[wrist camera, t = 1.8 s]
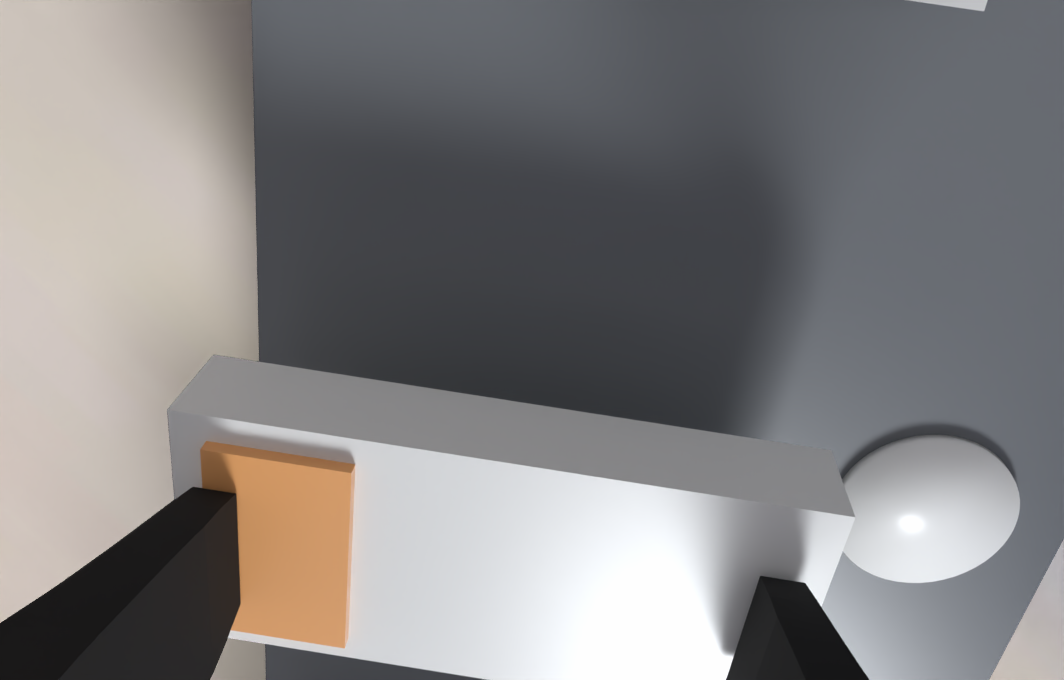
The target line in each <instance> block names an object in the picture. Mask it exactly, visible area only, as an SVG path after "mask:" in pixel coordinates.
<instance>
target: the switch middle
mask: <svg viewBox="0 0 1064 680" xmlns="http://www.w3.org/2000/svg"><path fill="white" fill-rule="evenodd" d="M167 414H168V427H169V439H170V452H171V464H172V476H173V489H174V500H175V499H176V498H178V497H179V496H180V495H182V494H183V493H184V492H186V491H187V490H189V489H190V488H192V487H198V488H204V489H211V490H217V491H224V492H230V493H236V497H237V523H238V549H239V575H240V600H241V604H240V607H239V610H238V612H237V615H236V617H235V620H234V623H233V625H232V628H231V630H230V633H229V636H228V638H232V639H238V640H244V641H250V642H257V643H263V644H269V645H275V646H281V647H288V648H294V649H300V650H306V651H312V652H319V653H325V654H331V655H337V656H344V657H350V658H356V659H362V660H368V661H375V662H381V663H387V664H393V665H399V666H406V667H412V668H418V669H424V670H431V671H437V672H443V673H449V674H455V675H462V676H468V677H474V678H480V679H486V680H726V678H727V675H728V672H729V669H730V666H731V663H732V660H733V657H734V654H735V651H736V648H737V645H738V642H739V639H740V636H741V633H742V630H743V626H744V623H745V620H746V617H747V614H748V611H749V608H750V605H751V602H752V599H753V596H754V593H755V590H756V587H757V584H758V581H759V578H760V576H765V577H772V578H778V579H784V580H791V581H797V582H803V583H806V585H807V586H808V588H809V589H810V590H811V592H812V593H813V595H814V596H815V598H816V599H817V601H818V602H819V604H820V606H821V607H822V604H823V602H824V599H825V596H826V594H827V591H828V589H829V586H830V583H831V581H832V578H833V575H834V573H835V570H836V568H837V565H838V562H839V560H840V557H841V554H842V552H843V549H844V546H845V544H846V541H847V539H848V536H849V533H850V531H851V528H852V525H853V523H854V520H855V518H856V517H855V514H854V512H853V509H852V506H851V503H850V501H849V498H848V495H847V492H846V490H845V487H844V484H843V481H842V479H841V476H840V473H839V470H838V468H837V465H836V462H835V459H834V457H833V454H832V451H831V450H826V449H819V448H813V447H806V446H800V445H793V444H787V443H780V442H774V441H767V440H761V439H755V438H748V437H742V436H735V435H729V434H722V433H716V432H709V431H703V430H697V429H690V428H684V427H677V426H671V425H664V424H658V423H651V422H645V421H638V420H632V419H626V418H619V417H613V416H606V415H600V414H593V413H587V412H580V411H574V410H568V409H561V408H555V407H548V406H542V405H535V404H529V403H522V402H516V401H510V400H503V399H497V398H490V397H484V396H477V395H471V394H464V393H458V392H451V391H445V390H439V389H432V388H426V387H419V386H413V385H406V384H400V383H393V382H387V381H381V380H374V379H368V378H361V377H355V376H348V375H342V374H335V373H329V372H322V371H316V370H310V369H303V368H297V367H290V366H284V365H277V364H271V363H264V362H258V361H252V360H245V359H239V358H232V357H226V356H219V355H213V356H212V357H211V358H210V359H209V361H208V362H207V363H206V364H205V365H204V367H203V368H202V369H201V370H200V371H199V372H198V374H197V375H196V376H195V377H194V378H193V380H192V381H191V382H190V383H189V384H188V386H187V387H186V388H185V389H184V390H183V391H182V393H181V394H180V395H179V396H178V397H177V399H176V400H175V401H174V402H173V403H172V405H171V406H170V407H169V408H168V409H167Z"/></svg>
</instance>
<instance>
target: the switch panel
mask: <svg viewBox="0 0 1064 680" xmlns="http://www.w3.org/2000/svg"><path fill="white" fill-rule="evenodd" d="M252 45H253V91H254V138H255V185H256V232H257V278H258V325H259V362H264V363H271V364H277V365H284V366H290V367H297V368H303V369H310V370H316V371H322V372H329V373H335V374H342V375H348V376H355V377H361V378H368V379H374V380H381V381H387V382H393V383H400V384H406V385H413V386H419V387H426V388H432V389H439V390H445V391H451V392H458V393H464V394H471V395H477V396H484V397H490V398H497V399H503V400H510V401H516V402H522V403H529V404H535V405H542V406H548V407H555V408H561V409H568V410H574V411H580V412H587V413H593V414H600V415H606V416H613V417H619V418H626V419H632V420H638V421H645V422H651V423H658V424H664V425H671V426H677V427H684V428H690V429H697V430H703V431H709V432H716V433H722V434H729V435H735V436H742V437H748V438H755V439H761V440H767V441H774V442H780V443H787V444H793V445H800V446H806V447H813V448H819V449H826V450H831V451H832V454H833V457H834V459H835V462H836V465H837V468H838V470H839V473H840V476H841V479H842V481H843V484H844V487H845V490H846V492H847V495H848V498H849V501H850V503H851V506H852V509H853V512H854V514H855V517H856V518H855V520H854V523H853V525H852V528H851V531H850V533H849V536H848V539H847V541H846V544H845V546H844V549H843V552H842V554H841V557H840V560H839V562H838V565H837V568H836V570H835V573H834V575H833V578H832V581H831V583H830V586H829V589H828V591H827V594H826V596H825V599H824V602H823V604H822V609H823V610H824V612H825V613H826V615H827V616H828V618H829V619H830V621H831V622H832V624H833V626H834V627H835V629H836V630H837V632H838V633H839V635H840V636H841V638H842V639H843V641H844V642H845V644H846V645H847V647H848V648H849V650H850V651H851V653H852V654H853V656H854V657H855V659H856V660H857V662H858V663H859V665H860V667H861V668H862V669H863V671H864V672H865V674H866V675H867V677H868V678H869V680H989V679H990V677H991V675H992V673H993V671H994V670H995V668H996V666H997V664H998V662H999V660H1000V658H1001V656H1002V654H1003V653H1004V651H1005V649H1006V647H1007V645H1008V643H1009V641H1010V639H1011V637H1012V636H1013V634H1014V632H1015V630H1016V628H1017V626H1018V624H1019V622H1020V620H1021V619H1022V617H1023V615H1024V613H1025V611H1026V609H1027V607H1028V605H1029V603H1030V602H1031V600H1032V598H1033V596H1034V594H1035V592H1036V590H1037V588H1038V586H1039V584H1040V583H1041V581H1042V579H1043V577H1044V575H1045V573H1046V571H1047V569H1048V567H1049V566H1050V564H1051V562H1052V560H1053V558H1054V556H1055V554H1056V552H1057V550H1058V549H1059V547H1060V545H1061V543H1062V541H1063V539H1064V0H988V1H987V4H986V7H985V10H984V11H977V10H971V9H964V8H957V7H950V6H943V5H936V4H929V3H923V2H916V1H909V0H252ZM265 652H266V680H486V679H480V678H474V677H468V676H462V675H455V674H449V673H443V672H437V671H431V670H424V669H418V668H412V667H406V666H399V665H393V664H387V663H381V662H375V661H368V660H362V659H356V658H350V657H344V656H337V655H331V654H325V653H319V652H312V651H306V650H300V649H294V648H288V647H281V646H275V645H269V644H265Z"/></svg>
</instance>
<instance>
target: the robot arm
mask: <svg viewBox="0 0 1064 680" xmlns="http://www.w3.org/2000/svg"><path fill="white" fill-rule="evenodd" d="M240 604H241V600H240V575H239V549H238V523H237V497H236V493H230V492H224V491H217V490H211V489H204V488H198V487H192V488H190V489H189V490H187V491H186V492H184V493H183V494H182V495H180V496H179V497H178V498H176V499H175V500H173V501H172V502H171V503H169V504H168V505H167V506H165V507H164V508H163V509H161V510H160V511H159V512H157V513H156V514H155V515H153V516H152V517H151V518H149V519H148V520H147V521H145V522H144V523H143V524H141V525H140V526H139V527H137V528H136V529H135V530H133V531H132V532H131V533H129V534H128V535H127V536H125V537H124V538H122V539H121V540H120V541H118V542H117V543H116V544H114V545H113V546H112V547H110V548H109V549H108V550H106V551H105V552H103V553H102V554H101V555H99V556H98V557H96V558H95V559H94V560H92V561H91V562H89V563H88V564H87V565H85V566H84V567H82V568H81V569H80V570H78V571H77V572H75V573H74V574H73V575H71V576H70V577H68V578H67V579H66V580H64V581H63V582H61V583H60V584H59V585H57V586H56V587H54V588H53V589H51V590H50V591H48V592H47V593H45V594H44V595H42V596H41V597H39V598H38V599H36V600H35V601H33V602H32V603H30V604H29V605H27V606H25V607H24V608H22V609H21V610H19V611H18V612H16V613H15V614H13V615H12V616H10V617H9V618H7V619H6V620H4V621H3V622H1V623H0V680H210V678H211V676H212V674H213V673H214V670H215V668H216V665H217V663H218V660H219V658H220V655H221V653H222V651H223V648H224V646H225V643H226V641H227V638H228V636H229V633H230V630H231V628H232V625H233V623H234V620H235V617H236V615H237V612H238V610H239V607H240ZM726 680H869V678H868V677H867V675H866V674H865V672H864V671H863V669H862V668H861V667H860V665H859V663H858V662H857V660H856V659H855V657H854V656H853V654H852V653H851V651H850V650H849V648H848V647H847V645H846V644H845V642H844V641H843V639H842V638H841V636H840V635H839V633H838V632H837V630H836V629H835V627H834V626H833V624H832V622H831V621H830V619H829V618H828V616H827V615H826V613H825V612H824V610H823V609H822V607H821V606H820V604H819V602H818V601H817V599H816V598H815V596H814V595H813V593H812V592H811V590H810V589H809V588H808V586H807V585H806V583H803V582H797V581H791V580H784V579H778V578H772V577H765V576H760V578H759V581H758V584H757V587H756V590H755V593H754V596H753V599H752V602H751V605H750V608H749V611H748V614H747V617H746V620H745V623H744V626H743V630H742V633H741V636H740V639H739V642H738V645H737V648H736V651H735V654H734V657H733V660H732V663H731V666H730V669H729V672H728V675H727V678H726Z"/></svg>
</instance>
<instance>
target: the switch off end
mask: <svg viewBox="0 0 1064 680" xmlns="http://www.w3.org/2000/svg"><path fill="white" fill-rule="evenodd" d="M909 1H916V2H923V3H929V4H936V5H943V6H950V7H957V8H964V9H971V10H977V11H984V10H985V7H986V4H987V1H988V0H909Z"/></svg>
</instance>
